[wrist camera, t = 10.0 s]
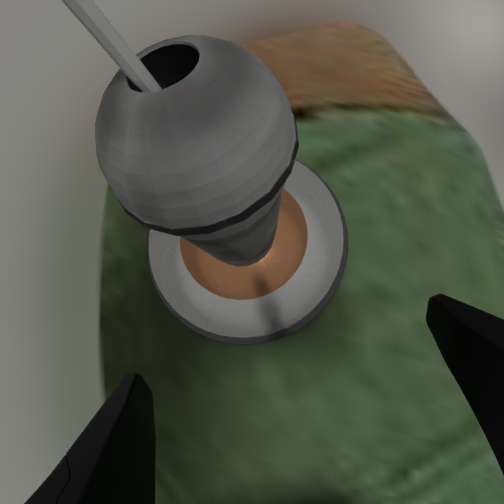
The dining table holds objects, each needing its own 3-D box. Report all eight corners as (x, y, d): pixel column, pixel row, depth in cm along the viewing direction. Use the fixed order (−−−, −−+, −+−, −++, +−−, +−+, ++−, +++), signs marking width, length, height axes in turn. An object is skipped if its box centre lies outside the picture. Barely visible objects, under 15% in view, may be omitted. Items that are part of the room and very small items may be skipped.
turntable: (337, 343, 20) (339, 343, 20) (141, 325, 22) (136, 325, 21) (339, 157, 24) (341, 151, 23) (169, 155, 25) (165, 149, 25)
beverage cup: (315, 253, 21) (390, -91, 2) (219, 307, 21) (-99, 146, 2) (262, 170, 23) (201, -117, 4) (175, 218, 23) (-20, -5, 4)
